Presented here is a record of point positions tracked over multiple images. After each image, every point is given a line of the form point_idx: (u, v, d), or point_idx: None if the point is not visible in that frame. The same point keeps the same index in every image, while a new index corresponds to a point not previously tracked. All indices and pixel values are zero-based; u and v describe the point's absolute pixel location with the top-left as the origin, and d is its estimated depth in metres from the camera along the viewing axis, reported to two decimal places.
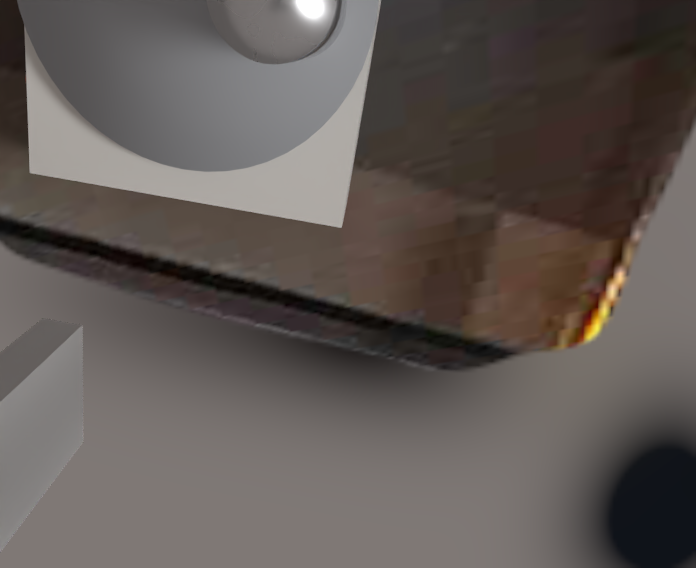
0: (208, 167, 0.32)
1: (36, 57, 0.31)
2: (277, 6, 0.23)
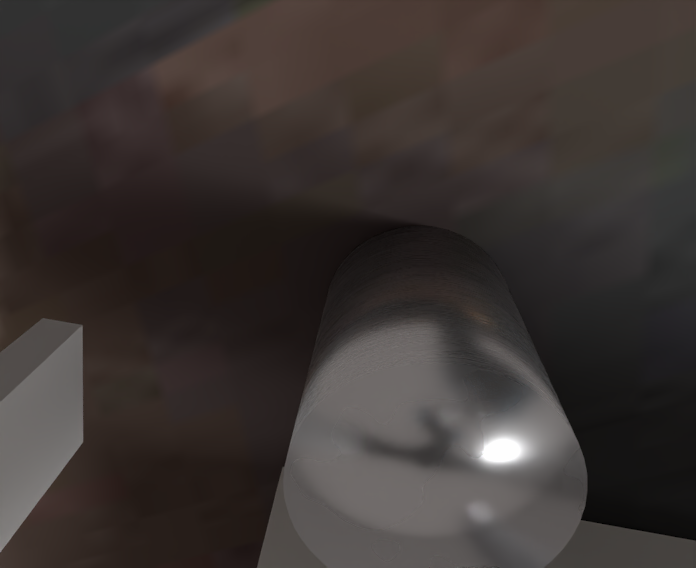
0: None
1: None
2: None
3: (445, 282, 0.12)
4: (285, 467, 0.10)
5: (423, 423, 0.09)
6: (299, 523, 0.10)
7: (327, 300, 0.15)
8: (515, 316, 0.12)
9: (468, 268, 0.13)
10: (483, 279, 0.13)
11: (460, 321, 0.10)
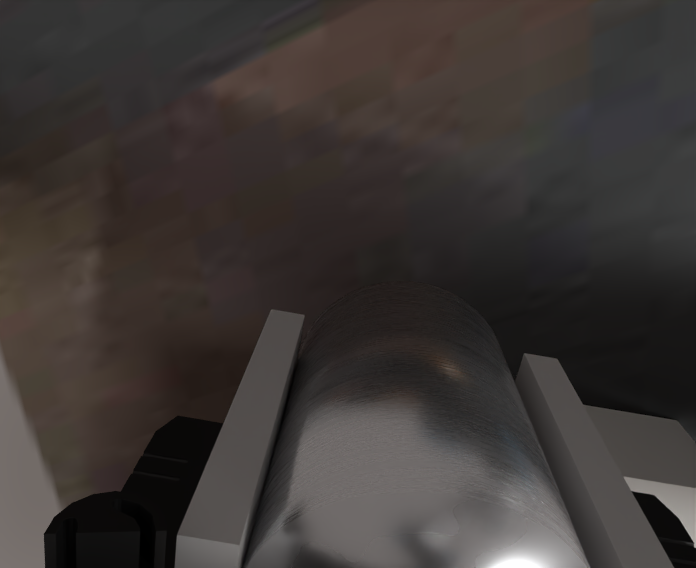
0: None
1: None
2: None
3: (429, 360, 0.10)
4: None
5: (402, 560, 0.07)
6: None
7: (296, 369, 0.13)
8: (513, 399, 0.10)
9: (457, 338, 0.11)
10: (475, 352, 0.11)
11: (448, 419, 0.08)
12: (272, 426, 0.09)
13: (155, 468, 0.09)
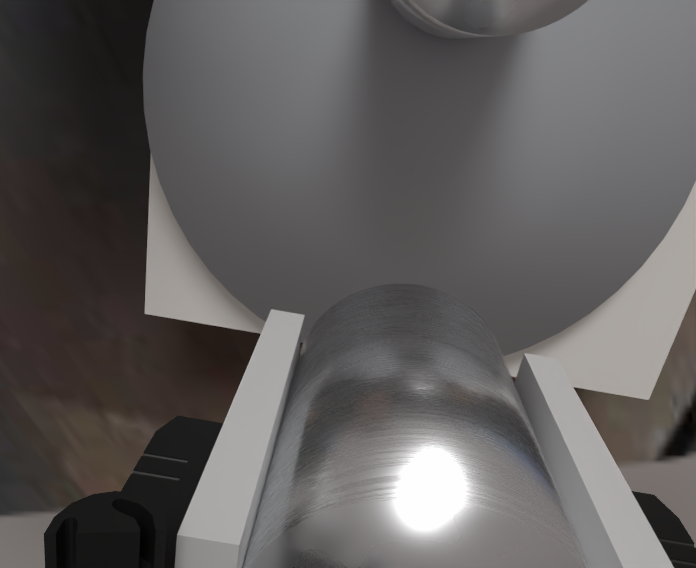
0: None
1: None
2: None
3: (429, 364, 0.10)
4: None
5: None
6: None
7: (295, 372, 0.13)
8: (513, 403, 0.10)
9: (457, 342, 0.11)
10: (475, 355, 0.11)
11: (448, 425, 0.08)
12: (272, 426, 0.09)
13: (155, 468, 0.09)
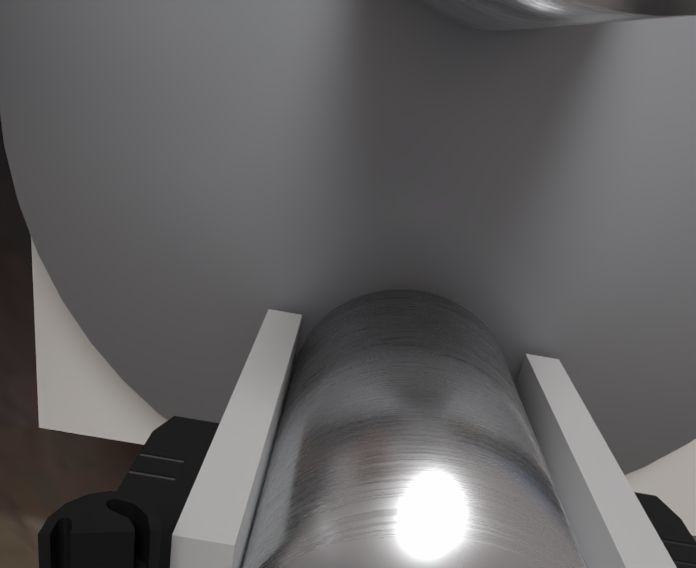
0: None
1: None
2: None
3: (431, 380, 0.10)
4: None
5: None
6: None
7: (291, 383, 0.12)
8: (519, 419, 0.10)
9: (459, 353, 0.11)
10: (478, 368, 0.10)
11: (450, 450, 0.08)
12: (269, 426, 0.09)
13: (151, 468, 0.09)
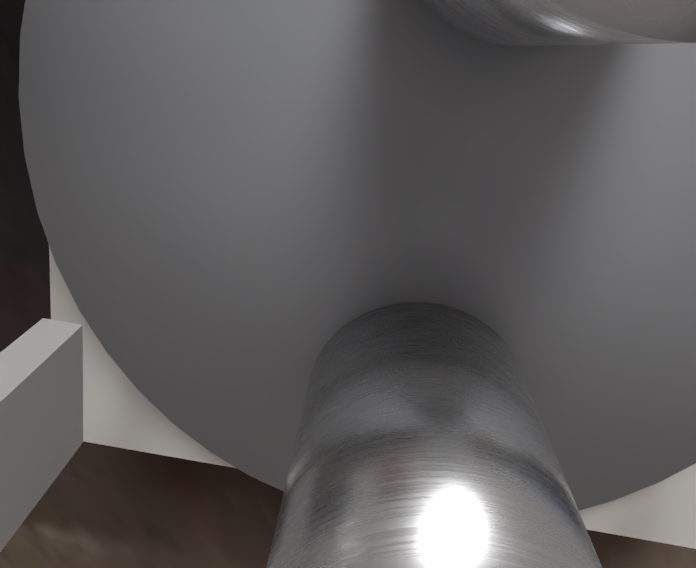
0: None
1: None
2: None
3: (451, 395, 0.10)
4: None
5: None
6: None
7: (308, 395, 0.12)
8: (538, 434, 0.10)
9: (478, 367, 0.11)
10: (497, 382, 0.10)
11: (473, 467, 0.08)
12: None
13: None
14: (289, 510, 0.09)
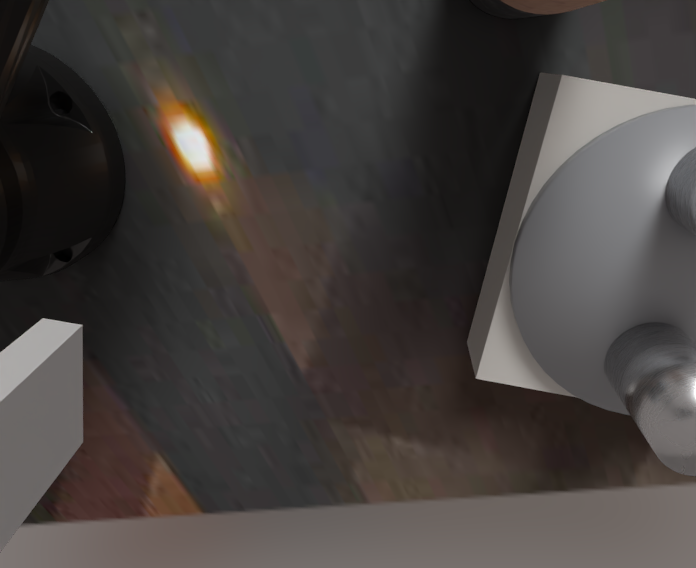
0: None
1: None
2: None
3: (693, 353, 0.30)
4: (653, 423, 0.28)
5: None
6: (655, 444, 0.28)
7: (620, 357, 0.33)
8: None
9: (694, 345, 0.31)
10: None
11: None
12: None
13: None
14: (651, 385, 0.29)
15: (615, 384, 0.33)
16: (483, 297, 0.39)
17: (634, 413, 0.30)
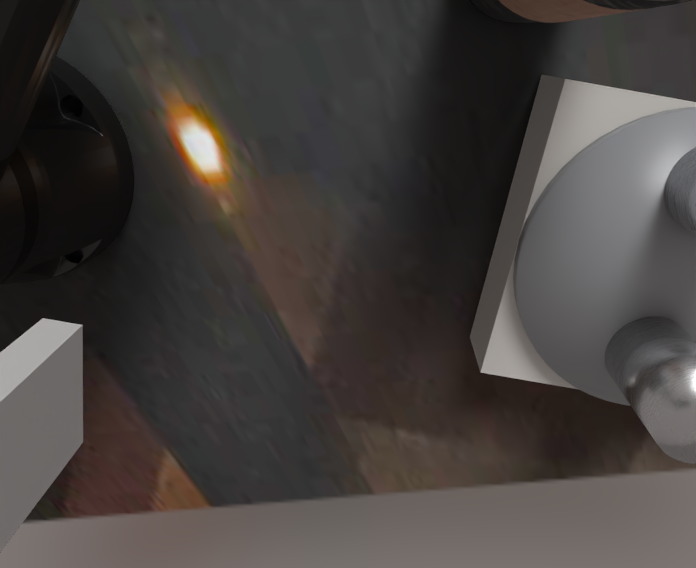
0: None
1: None
2: None
3: (691, 346, 0.31)
4: (655, 414, 0.29)
5: None
6: (656, 434, 0.30)
7: (620, 350, 0.34)
8: None
9: (691, 339, 0.33)
10: None
11: None
12: None
13: None
14: (651, 378, 0.31)
15: (616, 376, 0.34)
16: (486, 293, 0.40)
17: (635, 404, 0.32)
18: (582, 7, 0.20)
